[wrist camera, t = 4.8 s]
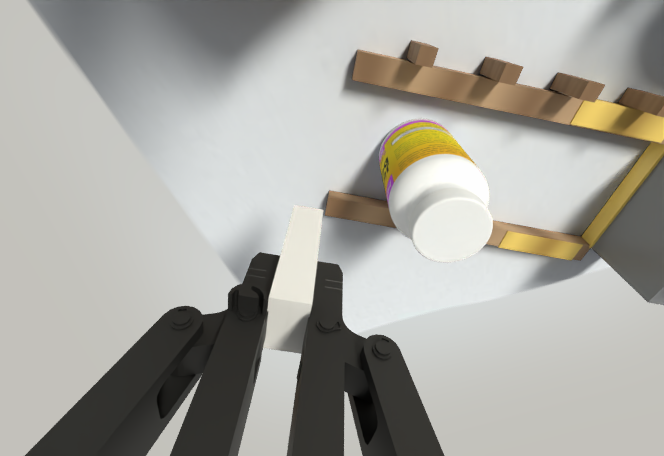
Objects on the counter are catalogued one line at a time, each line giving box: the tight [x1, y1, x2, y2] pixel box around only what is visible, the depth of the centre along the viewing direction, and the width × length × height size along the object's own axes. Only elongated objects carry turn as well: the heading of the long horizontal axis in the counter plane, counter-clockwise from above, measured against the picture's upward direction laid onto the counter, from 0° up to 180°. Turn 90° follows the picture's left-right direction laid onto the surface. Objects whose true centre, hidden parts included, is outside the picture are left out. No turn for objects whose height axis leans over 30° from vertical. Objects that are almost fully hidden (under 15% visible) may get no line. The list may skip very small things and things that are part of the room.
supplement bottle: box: [379, 119, 493, 263], centre depth 25 cm, size 7×7×13 cm
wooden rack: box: [325, 40, 664, 261], centre depth 28 cm, size 27×16×4 cm, turn 80°
